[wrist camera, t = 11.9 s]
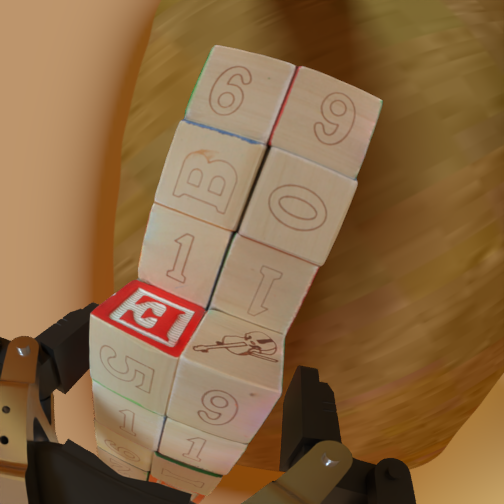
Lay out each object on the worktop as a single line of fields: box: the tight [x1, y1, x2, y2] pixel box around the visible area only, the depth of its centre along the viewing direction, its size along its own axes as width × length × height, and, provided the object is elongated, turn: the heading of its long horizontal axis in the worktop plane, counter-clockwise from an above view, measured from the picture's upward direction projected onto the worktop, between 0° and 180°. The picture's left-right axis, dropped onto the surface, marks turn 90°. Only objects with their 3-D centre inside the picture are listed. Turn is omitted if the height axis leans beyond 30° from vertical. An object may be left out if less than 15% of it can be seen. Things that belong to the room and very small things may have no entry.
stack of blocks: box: [89, 45, 383, 504], centre depth 13 cm, size 21×6×12 cm, turn 159°
